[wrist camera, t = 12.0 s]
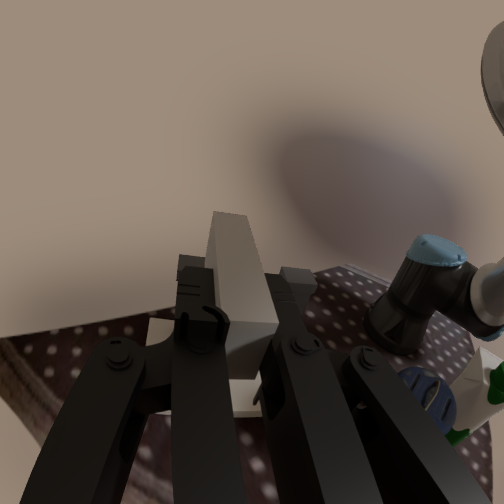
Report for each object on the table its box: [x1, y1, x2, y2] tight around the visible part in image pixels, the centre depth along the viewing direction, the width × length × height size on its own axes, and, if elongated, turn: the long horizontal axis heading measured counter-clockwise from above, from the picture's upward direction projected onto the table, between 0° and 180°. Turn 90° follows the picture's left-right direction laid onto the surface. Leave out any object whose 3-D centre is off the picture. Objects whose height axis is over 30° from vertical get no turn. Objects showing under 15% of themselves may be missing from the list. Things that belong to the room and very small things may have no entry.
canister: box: [398, 367, 457, 436], centre depth 25 cm, size 10×10×18 cm
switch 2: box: [279, 267, 318, 316], centre depth 42 cm, size 4×4×13 cm
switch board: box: [146, 318, 262, 417], centre depth 40 cm, size 26×16×2 cm, turn 99°
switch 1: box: [174, 254, 205, 322], centre depth 39 cm, size 4×4×13 cm
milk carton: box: [445, 346, 504, 447], centre depth 28 cm, size 9×9×20 cm
